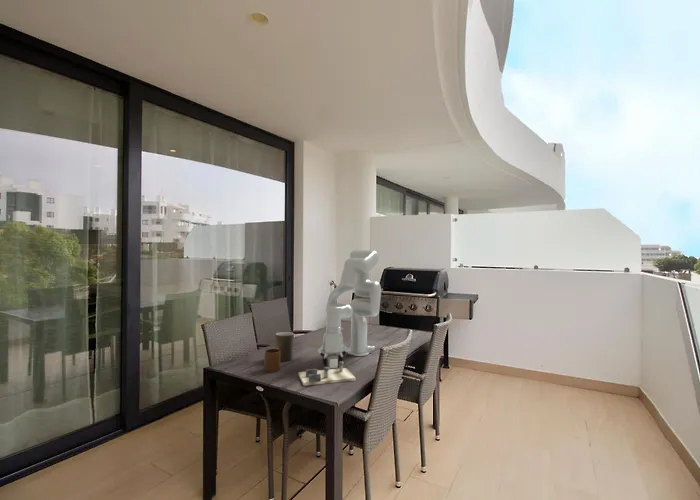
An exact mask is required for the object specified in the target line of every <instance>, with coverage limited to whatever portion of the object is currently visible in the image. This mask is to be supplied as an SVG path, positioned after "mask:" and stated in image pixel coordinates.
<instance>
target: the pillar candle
mask: <svg viewBox="0 0 700 500" xmlns="http://www.w3.org/2000/svg"><path fill="white" fill-rule="evenodd" d="M274 347H275V348H279V350H280V363H281V362H290V361H293V359H294V332H290V331H283V332H282V331H281V332H276V333H275V346H274ZM275 348H274V349H275Z"/></svg>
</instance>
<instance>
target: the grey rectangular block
mask: <svg viewBox="0 0 700 500" xmlns="http://www.w3.org/2000/svg"><path fill="white" fill-rule="evenodd" d="M338 358H339V355H338V353H328V355H327V367H329V369H339V367H338V366H339V364H338Z"/></svg>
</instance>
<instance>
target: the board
mask: <svg viewBox="0 0 700 500" xmlns="http://www.w3.org/2000/svg"><path fill="white" fill-rule="evenodd" d="M344 363H345V362H344V361H343V360H342V361H339V362H338V366H339V367H338V368H329V367H328V366H323V369H317V368H308V369H305V371H299V372H297V377H298V378H299V380H300V381H301V383H302V385H303V386H314V385H315V386H316V385H324V384H325V385H326V384H334V383H335V384H336V383H342V382H353V381H354V382H355V381H356V380H357V378H356V377H355V376H354V374H353V373H352V372H351V371H350V370H349V369H348V368H347V367H343V365H344Z"/></svg>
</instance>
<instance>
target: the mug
mask: <svg viewBox="0 0 700 500" xmlns="http://www.w3.org/2000/svg"><path fill="white" fill-rule="evenodd" d="M280 369H281V361H280V350H279V348H270V349H266V350H265V351H264V371H265V372H267V373H276V372H279V371H280Z"/></svg>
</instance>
